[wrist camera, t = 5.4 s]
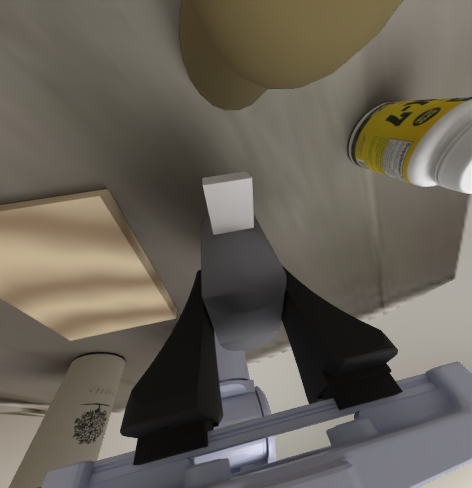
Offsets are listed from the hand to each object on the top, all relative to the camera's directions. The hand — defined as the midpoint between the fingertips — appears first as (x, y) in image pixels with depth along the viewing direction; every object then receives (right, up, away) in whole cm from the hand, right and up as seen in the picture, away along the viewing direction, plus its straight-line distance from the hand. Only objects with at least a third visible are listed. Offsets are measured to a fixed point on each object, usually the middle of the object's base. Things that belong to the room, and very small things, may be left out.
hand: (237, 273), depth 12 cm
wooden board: (-17, -2, +7) cm, 18 cm away
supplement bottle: (+12, +12, +3) cm, 17 cm away
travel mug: (-24, -19, +19) cm, 36 cm away
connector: (0, +2, +1) cm, 2 cm away
